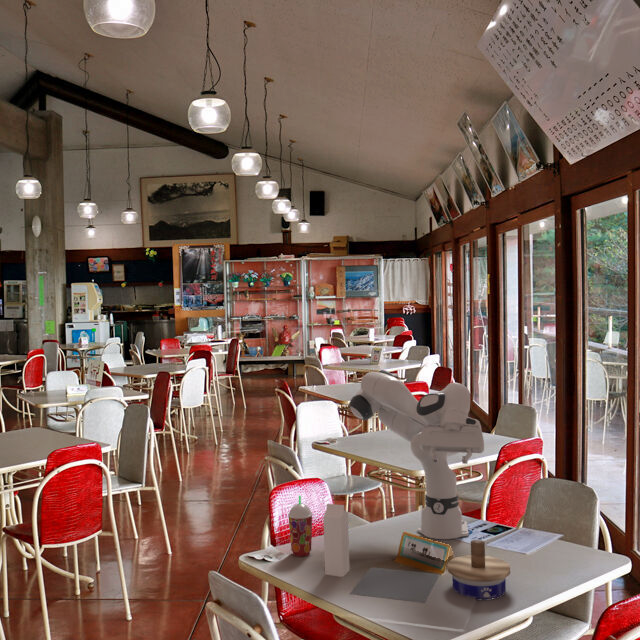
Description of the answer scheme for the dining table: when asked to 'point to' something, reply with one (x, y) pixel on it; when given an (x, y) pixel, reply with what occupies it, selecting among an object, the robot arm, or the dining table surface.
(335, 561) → the milk
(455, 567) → the lid
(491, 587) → the dog bowl
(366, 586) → the mat
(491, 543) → the dining table surface
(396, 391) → the robot arm
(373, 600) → the dining table surface
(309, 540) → the smoothie
